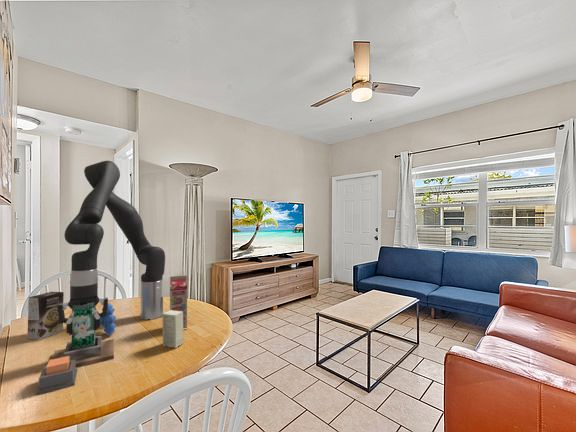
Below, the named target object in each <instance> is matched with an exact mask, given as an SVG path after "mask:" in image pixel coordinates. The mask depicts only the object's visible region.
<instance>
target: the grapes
mask: <svg viewBox="0 0 576 432" xmlns="http://www.w3.org/2000/svg"><path fill="white" fill-rule="evenodd" d="M101 311H103V307H102V309H101ZM114 313H115V309H114V308H113V305H112V304H111V303H109V302H108V305H107V313H106V316H104V317H101V318H100V326H103V327H104V329H103V332H104V333H106V335H108V336H112V335H113V334H114V333H115V329H116V327H117V324H116V323H115V320H116V319H117V317H116V316H115V315H114Z"/></svg>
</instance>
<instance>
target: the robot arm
mask: <svg viewBox="0 0 576 432" xmlns="http://www.w3.org/2000/svg"><path fill="white" fill-rule="evenodd" d="M83 173H84V177H85V179H86V181H87V182H88V184H89V185H90V186H91V187H92V190H91V191H90V192H89V193H88V194H87V195H86V196H85V198H84V199H83V201H82V203H81V205H80V206H81V207H80V208H79V211H78V214H77V215H76V216H75V217H74V218H73V220H71V222H69V224H68V225H67V226H66V228H65V231H64V239H65V241H66V243H68V244H69V245H73V246H74V245H75V246H76V245H77V246H78V245H80V246H81V245H88V248H87V249H85V250H82V251H81V250H80V251H76V252H74V253H73V254H72V255H71V265H70V266H71V272H70V277H69V280H70V281H69V301H68V302H63V303H60V304H59V305H58V307H57V308H58V316H59V323H63V324H66V334H68V335H69V336H72V320H73V318H74V311H73V312H72V310H73V305H85V304H90V303H93V302H94V307H95V306H96V307H97V305H98V304H99V303H100V306H102V308H103V311H102V310H101V311H102V312H99V311H98V309H97V308H96V310H95V309H94V308H93V307H92V314H94V317H95V331H98V330H99V329H100V327H101V325H100V318H101V317H104V316H106V313H107V305H108V303H109V298H108V297H107V296H106V297H104V298H100V297H99V296H98V295H99V294H98V293H99V292H98V288H99V287H98V286H99V285H98V283H99V277H98V276H99V273H98V255H99V250H100V248H101V244H102V240H103V239H104V233H105V232H104V228H103V226H101V225H100V222H101V221H102V219H103V216H104V213H105V208H107V210H108V211H109V212H110V214H111V215H112V217H113V219H114V221H115V222H116V223H117V225H118V227H119V228H120V230H121V231H122V233H123V235H124V236H125V238H126V239H127V241H128V242H129V244H130V245H131V247H132V249H133V252H134V253H135V255H136V258H137V260H138V262H139V263H141V264H142V265H143V266H145V271H144V273H142V274H141V275H140V319H141V320H145V321H146V320H148V319H150V320H155V319H158V317H159V318H161V317H162V314H163V313H164V296H163V279H164V278H163V276H164V274H165V270H166V269H165V267H166V266H165V265H166V254H165V251H164V249H163V248H162V247H160V246H154V245H151V243H150V242H149V240H148V239H147V237H146V235H145V232H144V224H143V219H142V218H141V215H140V214H139V212H138V210H137V208H135V206H134V205H133V204H131V203H130V202H128V201H126V200H125V199H123V198H121V197H120V196H118V195H117V194H116V193H114V189H115V187H116V186H117V184H118V182H119V180H120V177H121V172H120V169H119V167H118V165H117V164H116V163H115V162H114V161H113V160H102V161H100V162H99V161H98V162H96V163H93V164H90V165H87V166H85V167H84V171H83ZM67 307H69V309H71V313H70V315H69V316H68V317H65V316H66V314H65V311H66V310H67ZM160 316H161V317H160ZM154 318H155V319H154ZM148 321H149V320H148Z"/></svg>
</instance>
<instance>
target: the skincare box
mask: <svg viewBox="0 0 576 432" xmlns="http://www.w3.org/2000/svg"><path fill="white" fill-rule="evenodd" d="M161 317H162V346H163V345H164V346H163V347H165V346H169V347H168V348H170V347H177V348H179V347H180V346H182V345H183V344H184V343H185V341H184V330H183V311H175V310H170V309H169V310H167V311H164V312H163V314H162V316H161ZM182 343H183V344H182ZM181 344H182V345H181ZM179 345H180V346H179ZM178 346H179V347H178Z"/></svg>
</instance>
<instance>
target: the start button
mask: <svg viewBox="0 0 576 432" xmlns="http://www.w3.org/2000/svg"><path fill="white" fill-rule="evenodd" d="M51 359H52V358H51ZM51 359H49V360H48V362H47V365H46V366H47V367H46V375H50V374H54V373H58V372H63V371H67V370H69V366H70V356H66V357H62V358H57V359H52V360H51Z"/></svg>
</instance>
